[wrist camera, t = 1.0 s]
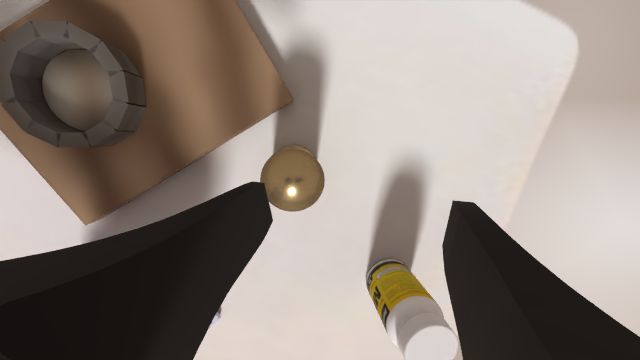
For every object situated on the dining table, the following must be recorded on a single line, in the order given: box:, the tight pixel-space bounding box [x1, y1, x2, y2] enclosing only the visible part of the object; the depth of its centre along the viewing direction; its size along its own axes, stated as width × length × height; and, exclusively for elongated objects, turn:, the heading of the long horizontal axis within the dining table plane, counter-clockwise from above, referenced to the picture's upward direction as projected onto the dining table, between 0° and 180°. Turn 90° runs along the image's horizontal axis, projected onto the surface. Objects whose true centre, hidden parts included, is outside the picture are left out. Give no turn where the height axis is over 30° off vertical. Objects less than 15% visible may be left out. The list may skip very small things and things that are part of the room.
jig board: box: [0, 0, 293, 225], centre depth 18 cm, size 20×14×4 cm
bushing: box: [260, 145, 324, 211], centre depth 18 cm, size 4×4×7 cm
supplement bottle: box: [366, 259, 458, 360], centre depth 21 cm, size 5×5×8 cm
